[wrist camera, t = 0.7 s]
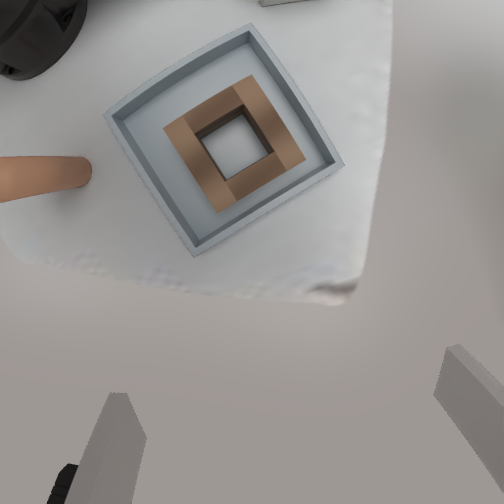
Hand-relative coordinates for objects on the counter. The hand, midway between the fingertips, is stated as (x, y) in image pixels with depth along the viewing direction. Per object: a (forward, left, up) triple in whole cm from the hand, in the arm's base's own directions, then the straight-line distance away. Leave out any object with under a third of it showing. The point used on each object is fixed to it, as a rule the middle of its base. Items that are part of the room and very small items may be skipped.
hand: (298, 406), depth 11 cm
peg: (-19, -12, -24) cm, 33 cm away
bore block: (-11, +4, -24) cm, 27 cm away
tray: (-12, +3, -24) cm, 27 cm away
